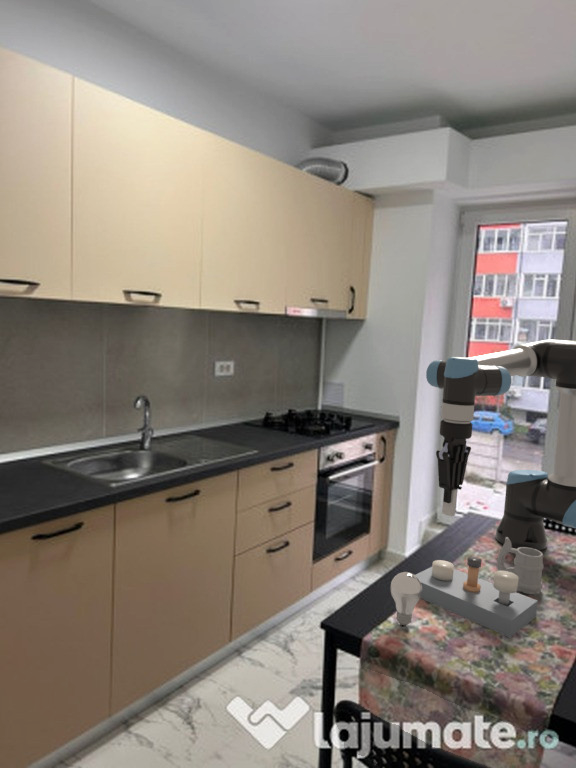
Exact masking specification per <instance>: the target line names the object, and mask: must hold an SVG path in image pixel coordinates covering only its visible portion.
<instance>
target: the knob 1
mask: <svg viewBox="0 0 576 768" xmlns="http://www.w3.org/2000/svg"><path fill="white" fill-rule="evenodd" d="M431 567H432V576H433V577H434V578H436V579H439V580H443V581H448V580H452V579H453V572H454V569H455V566H454V564H453V563H452V562H450V561H447V560H441V559H436V560H433V561H432V565H431Z"/></svg>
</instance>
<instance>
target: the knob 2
mask: <svg viewBox="0 0 576 768" xmlns="http://www.w3.org/2000/svg"><path fill="white" fill-rule="evenodd" d="M493 587H494V588H495V589H497V590H498V591H499V598H498V603H500V604H502V605H505V606H507V607H508V606H509V601H510V593H518V591H517V588H518V576H517V575H516V574H514V573H511V572H508V571H498V570H496V571H495V572H494V575H493Z"/></svg>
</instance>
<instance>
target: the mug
mask: <svg viewBox="0 0 576 768" xmlns="http://www.w3.org/2000/svg"><path fill="white" fill-rule="evenodd" d="M511 546H512V545H511V541H510V539H509V538H508V537H506V538H505V543H504V544H503V545H502V548H500V551H499V553H498V555H497V557H496V571H508V572H511V573H514V574H516V575H517V576H518V588H517V592H518V593H519V592H520V593H524V594H527V595H538V594H540V593H541V592H542V591H541V590H542V589H543V582H542V578H543V577H542V576H543V575H542V574H543V570H544V563H543V560H544V553H543V552H542V551H541V550H540V551H538V550H536V549H533V548H528V547H519V548H517V549H516V548H512V547H511ZM509 553H512V554H515V558H514V559H513V565H514V566H513V567H512V566H511V567H507V565H506V563H505V560H506V559H505V557H506V556H507V555H508V554H509Z"/></svg>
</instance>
